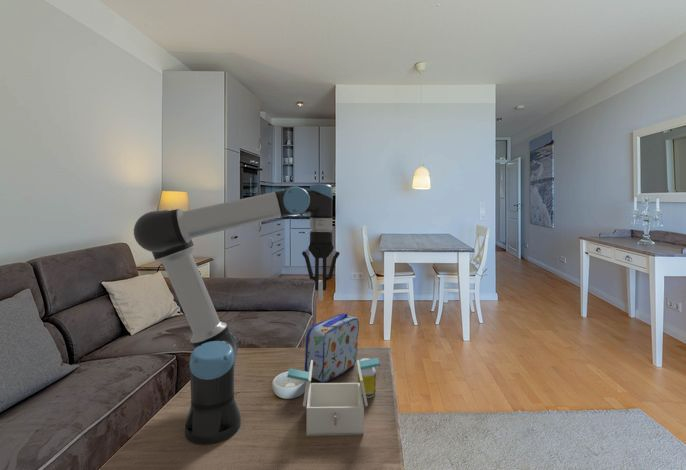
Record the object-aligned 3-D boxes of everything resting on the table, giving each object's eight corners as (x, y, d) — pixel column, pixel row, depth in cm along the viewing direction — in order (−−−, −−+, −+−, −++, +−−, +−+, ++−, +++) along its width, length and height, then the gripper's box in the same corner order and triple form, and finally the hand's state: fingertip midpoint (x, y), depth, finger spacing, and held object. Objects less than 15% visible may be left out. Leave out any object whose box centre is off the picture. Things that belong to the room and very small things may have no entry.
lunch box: (340, 356, 151) (341, 306, 150) (361, 361, 146) (362, 310, 144) (301, 382, 128) (301, 323, 126) (324, 390, 123) (325, 328, 121)
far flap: (361, 382, 111) (381, 378, 112) (365, 406, 98) (388, 401, 98) (356, 360, 111) (377, 355, 111) (360, 380, 98) (383, 375, 98)
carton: (305, 440, 96) (306, 412, 95) (309, 407, 112) (309, 383, 111) (364, 440, 96) (364, 412, 96) (359, 406, 112) (359, 382, 112)
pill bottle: (374, 399, 117) (375, 366, 116) (355, 397, 118) (355, 364, 117) (376, 390, 123) (377, 358, 122) (358, 388, 124) (358, 356, 124)
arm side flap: (305, 406, 98) (281, 401, 97) (308, 383, 111) (287, 379, 110) (310, 380, 97) (287, 376, 97) (313, 360, 110) (292, 356, 110)
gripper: (300, 231, 114) (300, 302, 116) (340, 231, 114) (339, 302, 116) (302, 229, 121) (302, 296, 123) (340, 230, 122) (339, 297, 123)
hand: (320, 299), depth 119 cm, fingers closed
